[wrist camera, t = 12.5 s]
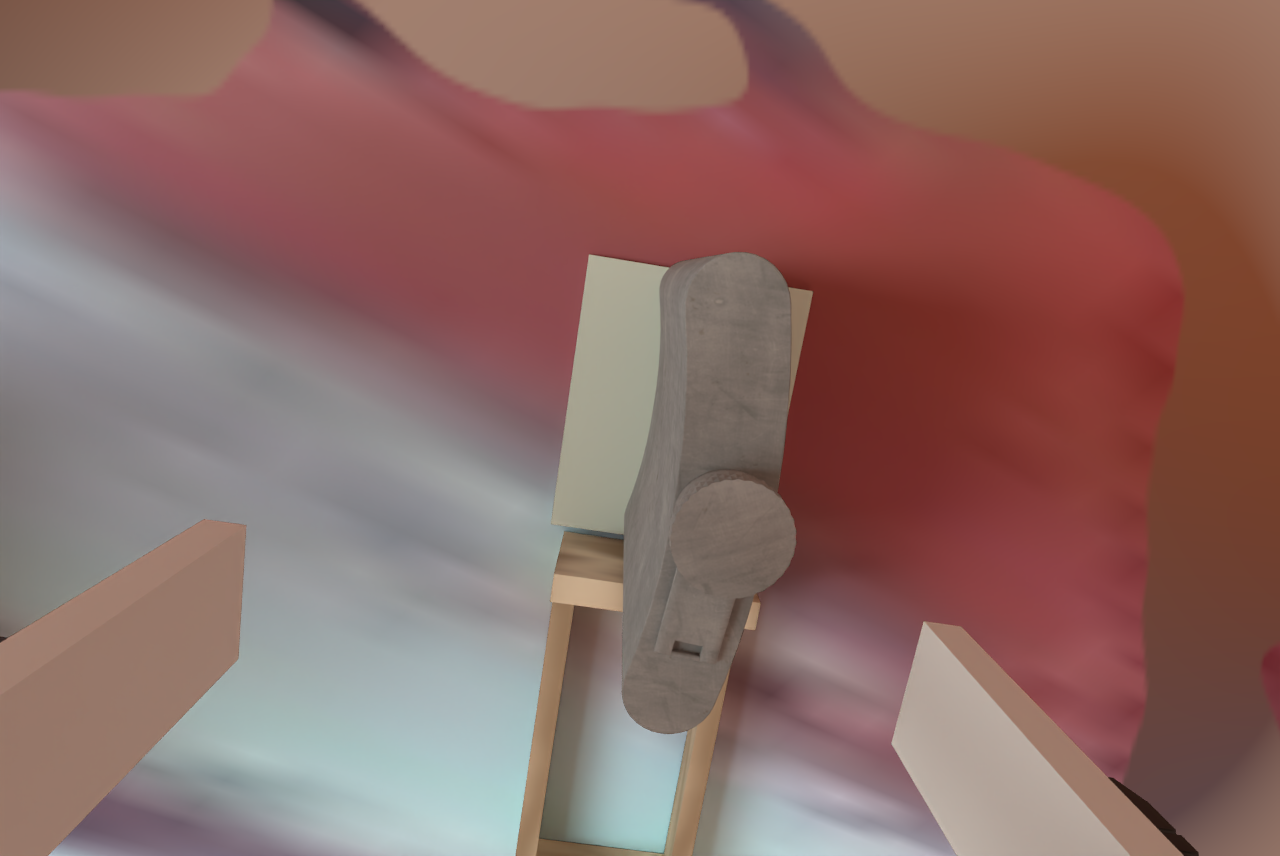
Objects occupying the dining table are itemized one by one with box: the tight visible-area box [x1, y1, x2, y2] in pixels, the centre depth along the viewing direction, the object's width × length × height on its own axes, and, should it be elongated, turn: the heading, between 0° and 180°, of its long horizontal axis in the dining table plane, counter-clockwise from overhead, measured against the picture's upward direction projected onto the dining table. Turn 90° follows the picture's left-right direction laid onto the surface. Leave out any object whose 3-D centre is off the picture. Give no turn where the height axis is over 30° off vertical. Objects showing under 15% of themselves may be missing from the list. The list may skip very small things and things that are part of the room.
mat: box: [551, 254, 813, 535], centre depth 40 cm, size 12×15×1 cm
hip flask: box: [622, 252, 796, 734], centre depth 30 cm, size 16×4×20 cm, turn 171°
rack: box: [516, 531, 761, 856], centre depth 42 cm, size 10×22×6 cm, turn 171°
